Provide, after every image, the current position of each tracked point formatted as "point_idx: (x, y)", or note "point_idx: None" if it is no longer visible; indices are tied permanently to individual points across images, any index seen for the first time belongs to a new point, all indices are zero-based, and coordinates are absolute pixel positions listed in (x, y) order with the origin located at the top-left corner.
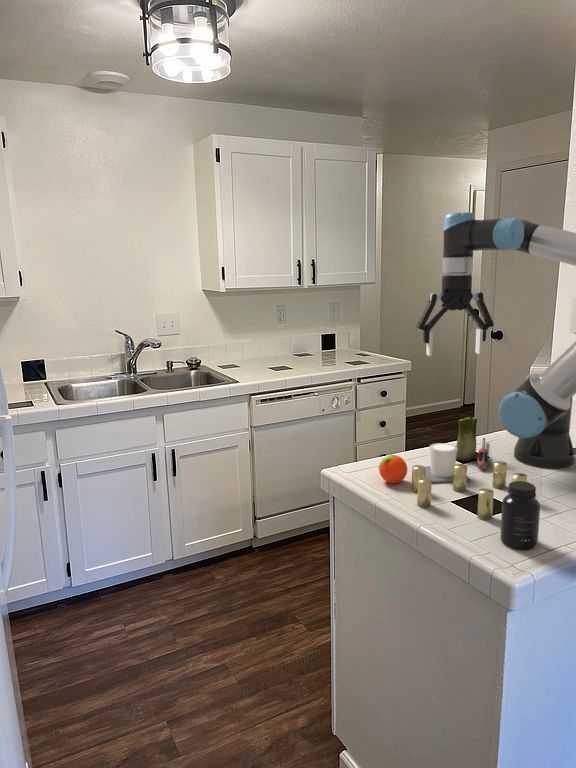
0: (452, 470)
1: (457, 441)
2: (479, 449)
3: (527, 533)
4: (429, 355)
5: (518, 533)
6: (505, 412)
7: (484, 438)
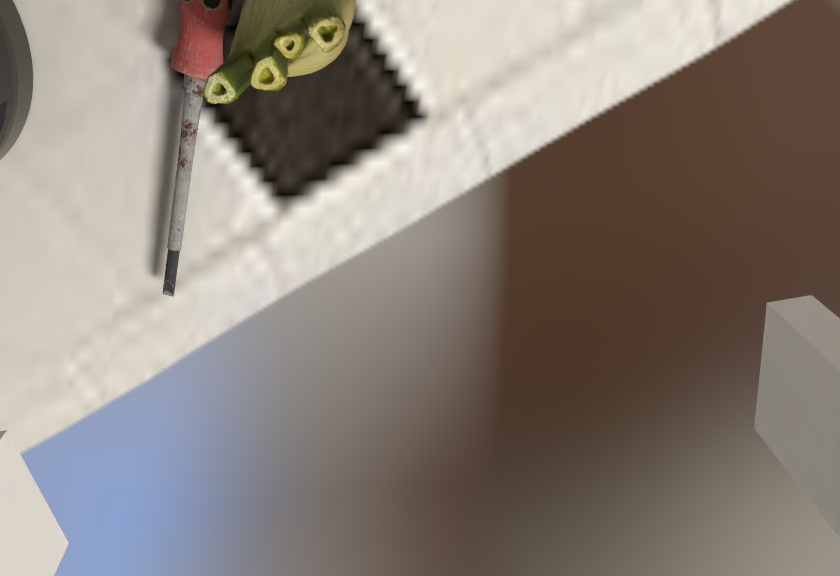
0: None
1: (349, 5)
2: None
3: None
4: (816, 301)
5: None
6: None
7: (167, 278)
